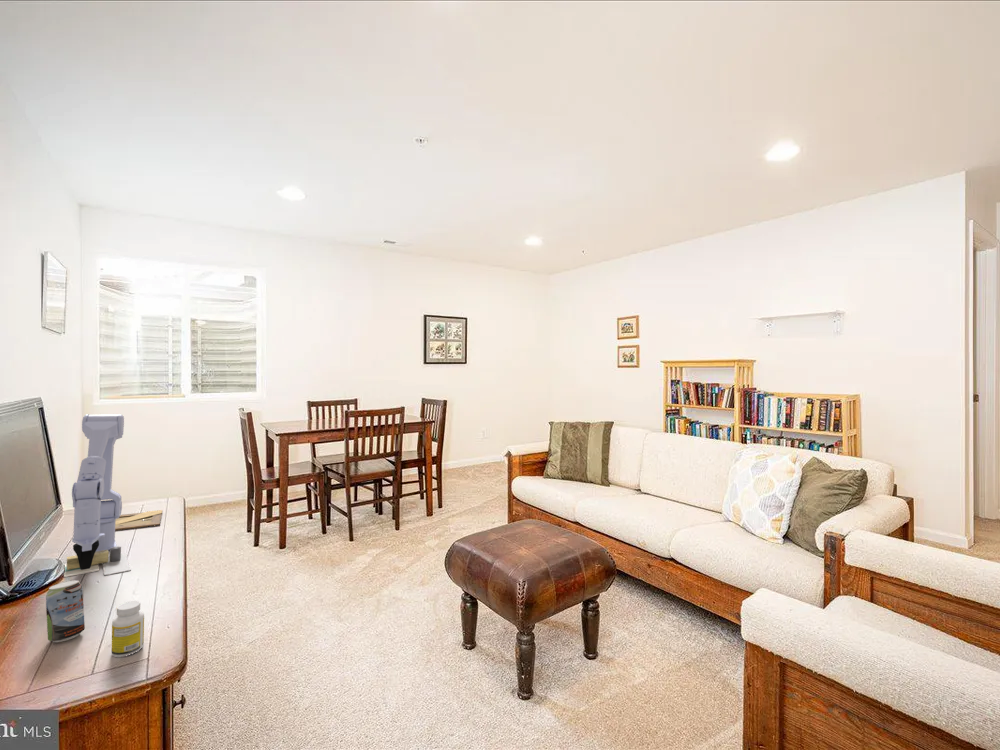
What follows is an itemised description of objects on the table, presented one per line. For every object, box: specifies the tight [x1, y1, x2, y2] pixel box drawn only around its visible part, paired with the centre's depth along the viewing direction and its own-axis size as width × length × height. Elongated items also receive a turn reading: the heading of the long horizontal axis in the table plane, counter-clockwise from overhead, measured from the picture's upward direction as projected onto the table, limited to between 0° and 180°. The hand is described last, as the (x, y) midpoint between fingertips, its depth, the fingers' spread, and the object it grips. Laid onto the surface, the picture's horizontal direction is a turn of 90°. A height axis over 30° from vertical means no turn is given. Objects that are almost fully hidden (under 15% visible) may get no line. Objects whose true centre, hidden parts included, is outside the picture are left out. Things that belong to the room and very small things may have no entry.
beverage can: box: [45, 579, 86, 643], centre depth 105 cm, size 6×7×12 cm
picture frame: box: [115, 509, 163, 532], centre depth 180 cm, size 19×2×24 cm
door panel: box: [63, 546, 132, 578], centre depth 141 cm, size 16×14×4 cm
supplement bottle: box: [111, 600, 145, 658], centre depth 101 cm, size 5×5×10 cm
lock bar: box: [66, 550, 110, 570], centre depth 141 cm, size 9×2×3 cm, turn 136°
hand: (85, 568), depth 137 cm, fingers closed
